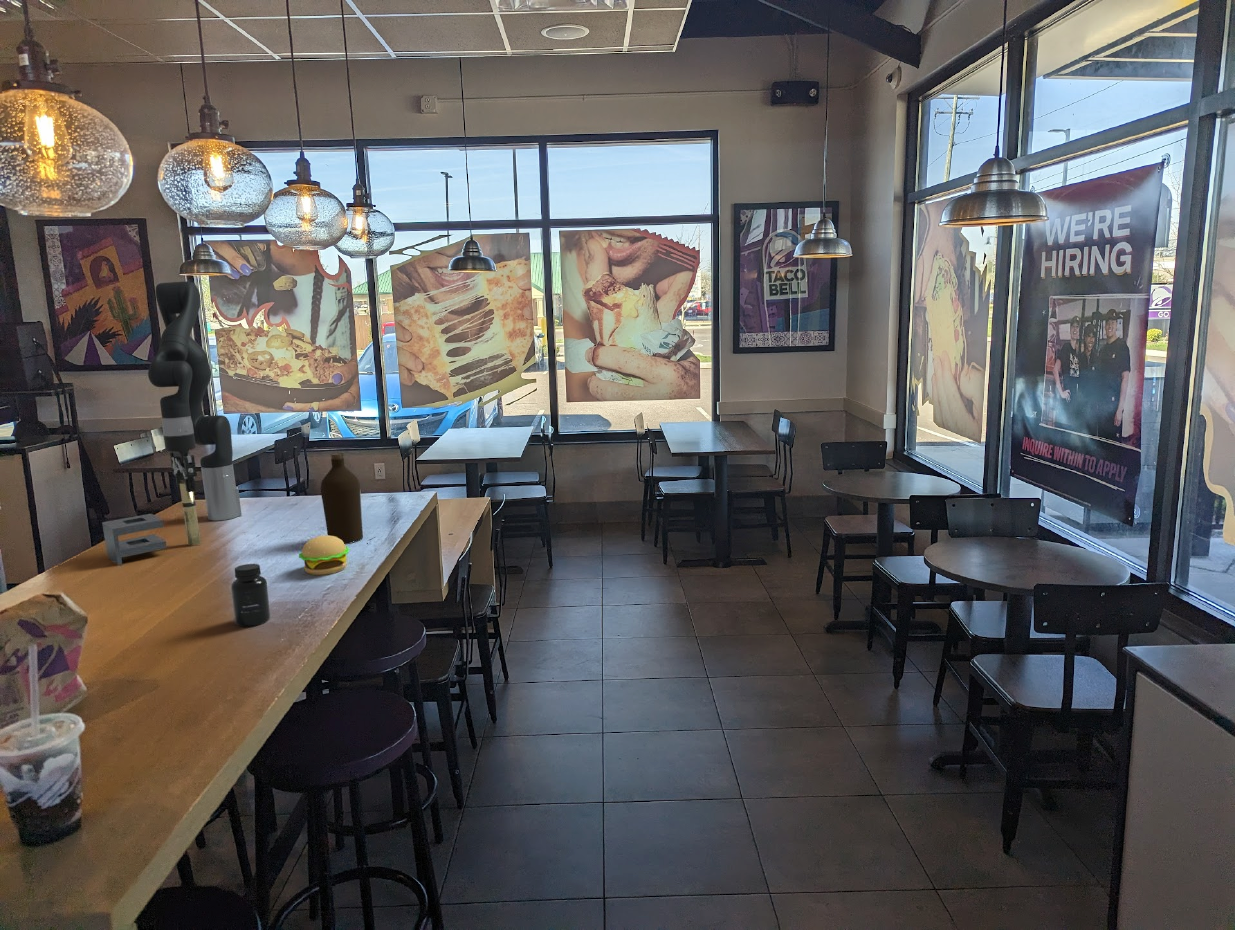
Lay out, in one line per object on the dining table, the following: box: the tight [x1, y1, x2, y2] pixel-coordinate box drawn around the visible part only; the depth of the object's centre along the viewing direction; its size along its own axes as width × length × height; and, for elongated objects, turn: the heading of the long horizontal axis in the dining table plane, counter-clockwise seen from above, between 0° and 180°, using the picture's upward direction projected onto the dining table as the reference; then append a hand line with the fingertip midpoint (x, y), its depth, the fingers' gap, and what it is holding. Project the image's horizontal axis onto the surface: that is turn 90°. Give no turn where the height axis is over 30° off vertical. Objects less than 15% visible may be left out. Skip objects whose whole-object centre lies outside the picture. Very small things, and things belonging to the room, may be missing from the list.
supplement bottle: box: [230, 563, 271, 628], centre depth 168 cm, size 7×7×12 cm
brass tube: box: [180, 482, 202, 547], centre depth 228 cm, size 3×3×18 cm
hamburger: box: [298, 534, 350, 576], centre depth 202 cm, size 12×12×9 cm
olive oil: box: [320, 452, 364, 544], centre depth 227 cm, size 11×11×25 cm
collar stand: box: [101, 513, 168, 566], centre depth 219 cm, size 12×11×10 cm
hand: (186, 489), depth 227 cm, fingers open, 8 cm apart
